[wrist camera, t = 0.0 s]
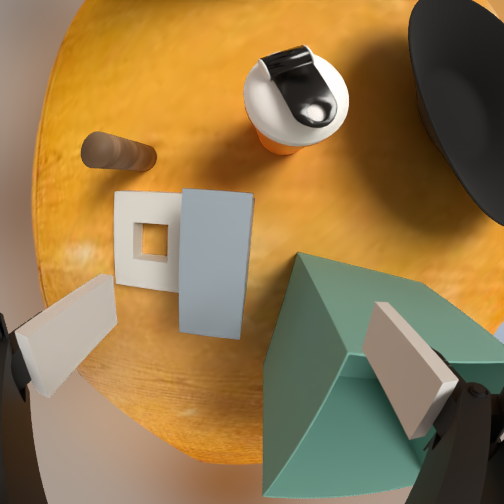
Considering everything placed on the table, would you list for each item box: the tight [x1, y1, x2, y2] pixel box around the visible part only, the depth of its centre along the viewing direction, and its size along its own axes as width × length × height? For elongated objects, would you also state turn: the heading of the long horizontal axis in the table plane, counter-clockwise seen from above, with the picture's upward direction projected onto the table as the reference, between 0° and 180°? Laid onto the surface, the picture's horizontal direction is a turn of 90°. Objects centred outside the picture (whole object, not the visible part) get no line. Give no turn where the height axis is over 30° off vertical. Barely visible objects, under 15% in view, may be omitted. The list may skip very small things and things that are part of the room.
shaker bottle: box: [243, 45, 349, 155], centre depth 27 cm, size 9×9×20 cm
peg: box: [81, 132, 157, 171], centre depth 31 cm, size 4×4×14 cm
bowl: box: [408, 0, 504, 226], centre depth 27 cm, size 36×36×15 cm
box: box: [262, 252, 504, 498], centre depth 31 cm, size 23×21×26 cm
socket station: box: [114, 188, 255, 340], centre depth 35 cm, size 16×20×12 cm
